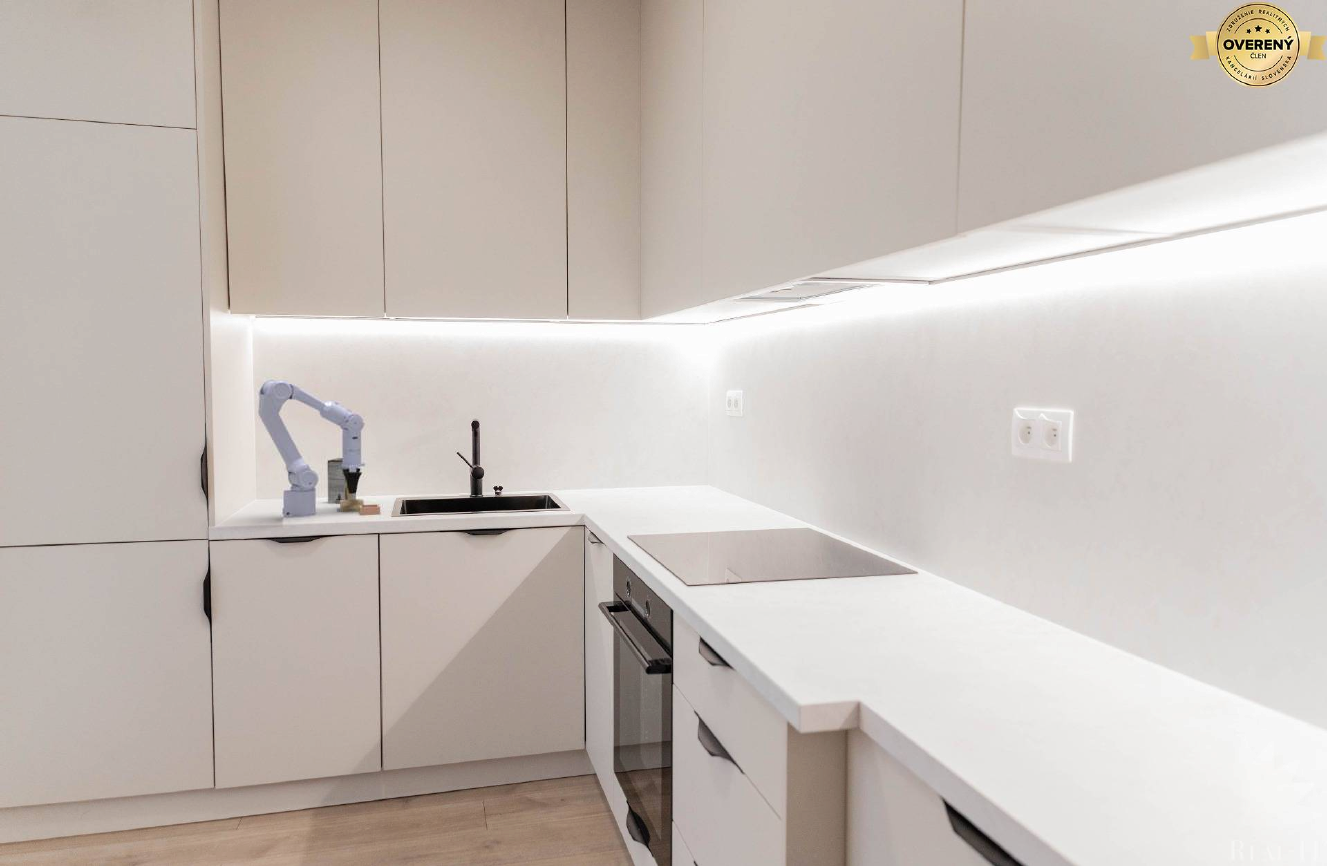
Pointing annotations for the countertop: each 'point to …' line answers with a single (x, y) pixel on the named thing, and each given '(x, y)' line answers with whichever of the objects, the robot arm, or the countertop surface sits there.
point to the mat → (343, 511)
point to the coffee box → (337, 482)
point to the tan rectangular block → (351, 504)
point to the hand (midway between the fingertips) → (352, 491)
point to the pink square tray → (369, 509)
